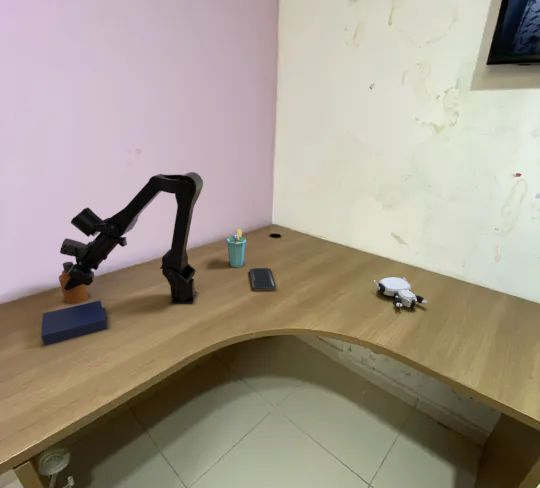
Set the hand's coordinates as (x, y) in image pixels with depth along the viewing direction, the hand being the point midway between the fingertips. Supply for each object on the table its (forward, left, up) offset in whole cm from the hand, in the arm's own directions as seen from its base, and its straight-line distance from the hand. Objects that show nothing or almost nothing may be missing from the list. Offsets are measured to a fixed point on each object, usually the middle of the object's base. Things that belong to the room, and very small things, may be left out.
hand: (67, 284), depth 94 cm
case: (-8, +14, -5) cm, 17 cm away
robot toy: (-105, -3, -5) cm, 105 cm away
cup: (-49, -26, -5) cm, 56 cm away
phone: (-59, -14, -5) cm, 61 cm away
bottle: (-1, 0, -5) cm, 5 cm away
